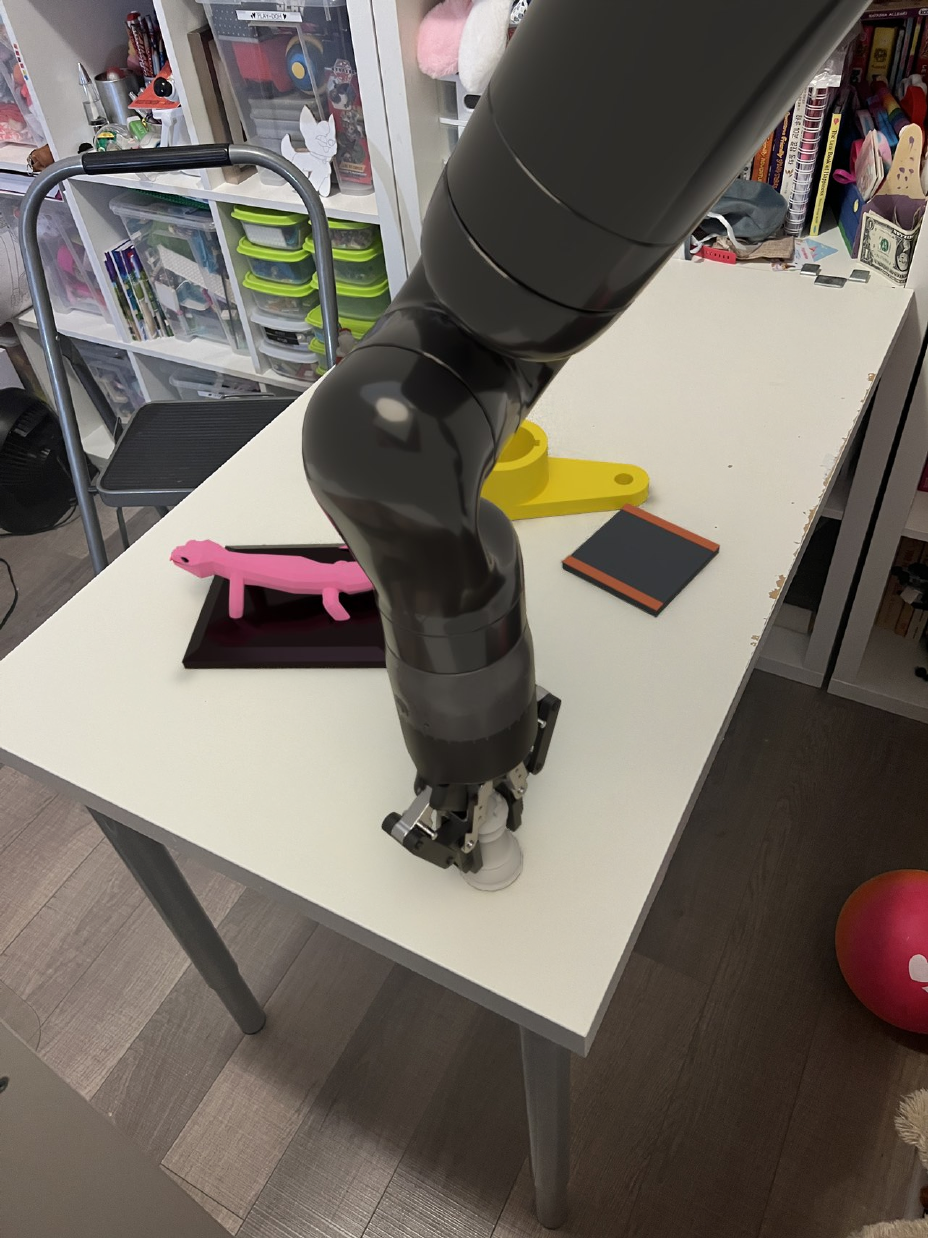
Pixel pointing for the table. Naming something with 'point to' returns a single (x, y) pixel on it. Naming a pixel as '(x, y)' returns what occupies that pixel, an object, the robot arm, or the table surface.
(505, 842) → the rook chess piece
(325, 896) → the table surface
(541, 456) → the crank
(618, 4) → the robot arm
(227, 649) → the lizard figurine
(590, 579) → the mat
